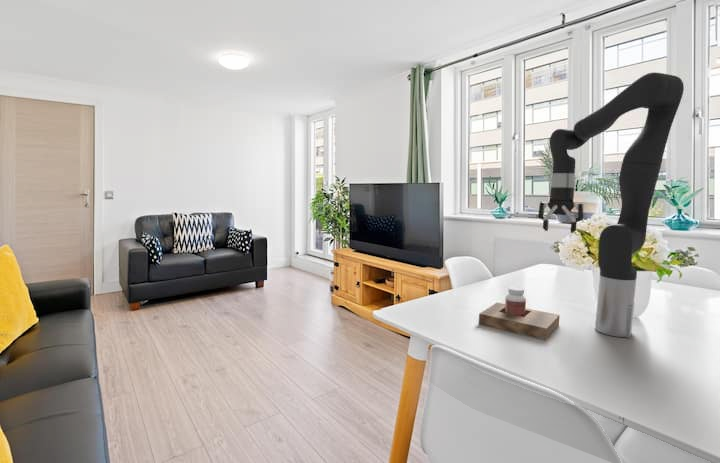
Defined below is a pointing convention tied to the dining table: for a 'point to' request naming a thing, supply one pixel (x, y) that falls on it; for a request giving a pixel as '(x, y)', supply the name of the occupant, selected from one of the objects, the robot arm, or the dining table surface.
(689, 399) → the dining table surface
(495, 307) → the socket block
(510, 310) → the pill bottle
